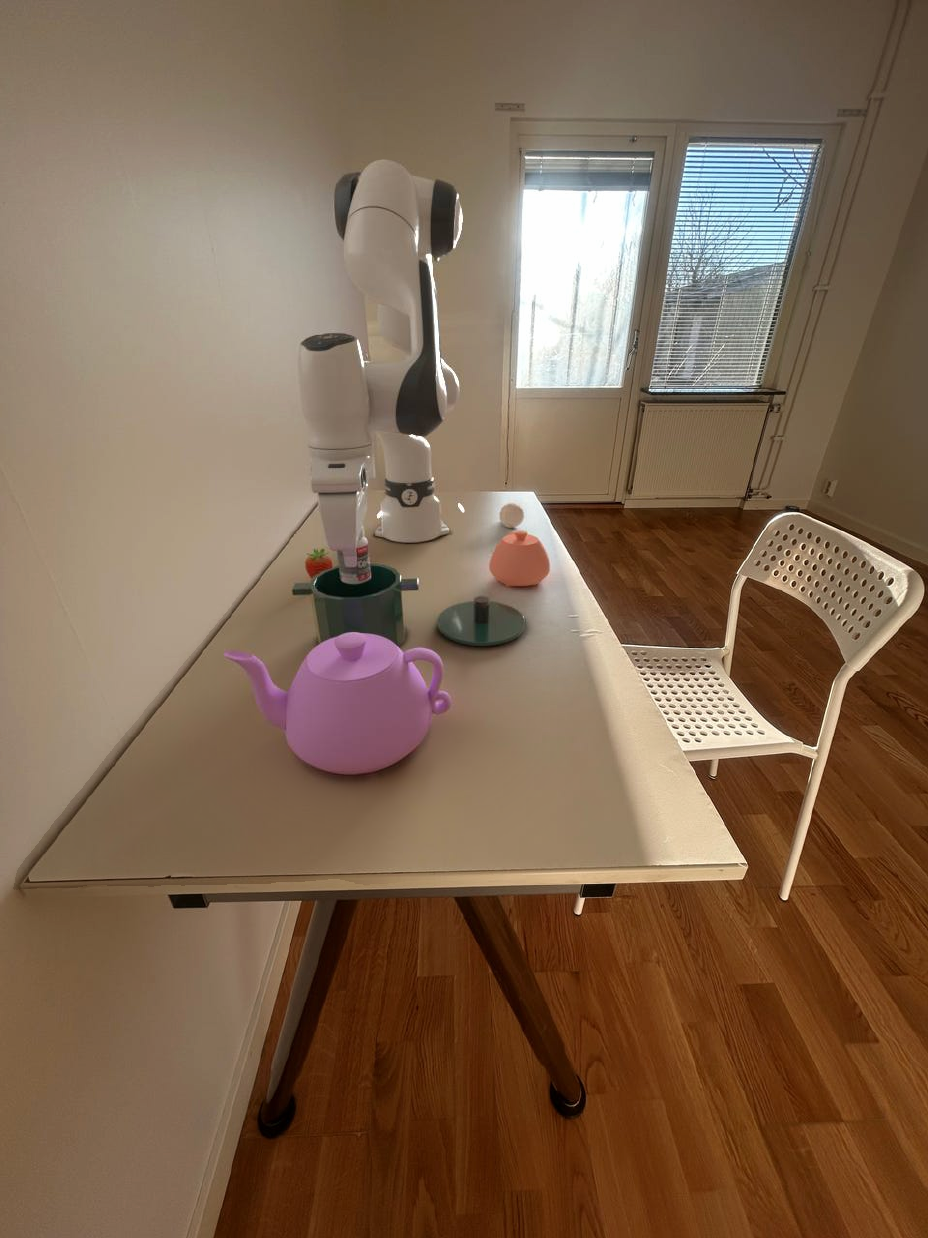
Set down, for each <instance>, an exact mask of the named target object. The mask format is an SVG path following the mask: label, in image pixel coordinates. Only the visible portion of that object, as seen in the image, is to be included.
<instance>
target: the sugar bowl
mask: <svg viewBox="0 0 928 1238" xmlns="http://www.w3.org/2000/svg"><path fill="white" fill-rule="evenodd" d="M488 566H489V567H488V569H489V571H490V573H491V575H492V576H493V578H495V580H497V581H498V582H500V583H502V584H504V585H505V587H509V588H512V587H527V586H537V585H538V584H539V583H541V582H542V581H543V580H544V579H545V578H547V576H548V575H549V574H550V571H551V563H550V558H549V554H548V553H547V550H546V549H545V547H544V545H543V543H542V541H541V540H540V539H539V537H537V536H535V535H533V534H528V531H527V530H522V529H519V530H515V531H514V530H513V531H510V532H509V533H508V534H507V535H505V536H503V537H502V538H501V539H500V541H499V542H498V544H497V545H496V547H495V548H494V549H493V552H492V553H491V556H490V560H489V565H488Z"/></svg>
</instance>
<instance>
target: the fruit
mask: <svg viewBox="0 0 928 1238" xmlns="http://www.w3.org/2000/svg"><path fill="white" fill-rule="evenodd" d="M328 554H329V552H327V553H325V548H322V549H320V551H319V550H318V548H316V549H315V548H313V553H307V552H306V555H307V556H308V557H307V558H306V559H305V561H304V562H305V563H304V564H305V565H304V566H305V570H306V573H307V574H308V576H309V578H310V579H312V578H313V577H314V576H316V575H317V574H319V573H320V572H322V571H325V570H327V569H330V568H333V567H334V565H333V561H332V559H331V558H330V557H329V556H328Z"/></svg>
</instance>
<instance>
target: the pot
mask: <svg viewBox="0 0 928 1238" xmlns="http://www.w3.org/2000/svg"><path fill="white" fill-rule="evenodd" d="M370 569H371V578H370V579H369V580H368V581H366V582H364V583H361V584H347V583H344V582H342V581H341V578H340V571H339V565H336V566H333V568H330V569H327V570H325V571H322V572H320V573H319V574H317V575H316V576H314V577H313V578H312V579H311V578H310V579H311V580H310V582H297V583H296V582H295V583H294V585H293V586H292V589H291V592H292V596H307V595H308V596H309V595H310V600H311V607H312V614H313V619H314V626H315V633H316V637H317V643H318V645H319V644H321V643H322V642H324V641H326V640H329V639H331V638H334V637H337V636H340V635H342V634H345V633H350V632H357V633H366V634H374V635H379V636H382V637H384V638H386V639H388V640H390V641H392V642H393V643H394V644H395V645H396V646H398V647H399V648H400V646H401V645H402V643H403V642H404V640H405V636H406V631H405V630H406V627H405V614H404V613H405V612H404V598H403V592H407V591H419V578H402V574H401V573H400V572H399V571H398V570H397V569H396V568H394V567H391V566H388V565H386V564H382V563H381V564H380V563H372V562H370Z"/></svg>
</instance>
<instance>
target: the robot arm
mask: <svg viewBox="0 0 928 1238" xmlns="http://www.w3.org/2000/svg"><path fill="white" fill-rule="evenodd" d="M332 214H333V219H334V222H335V227H336V232H337V234H338V236H339V237H340V238H341V240H342V241H343V261H344V266H345V269H346V272H347V274H348V277H349V278H350V280H351V281H352V283H353V284H354V286H355V287H356V288H357V289H358V291H359V292H361V293H362V294H363V295H364V296H365V297H366V298H368V299H370V300H371V301H372V302H374V303H376V304H377V328H378V331H379V334H380V336H381V338H382V339H383V340H384V341H385V342H386V343H388V345H390V346H392V347H394V348H395V349H397V350H399V351H401V352H403V353H404V358H405V359H403V360H398V361H397V360H396V361H368V360H364V358H363V352H362V349H361V345H360V342H359V339H358V338H357V337H356V336H355V335H351V334H348V333H343V332H330V333H323V334H315V335H311V336H308V337H306V338H305V339H304V340H303V341H301V342H300V344H299V346H298V360H297V362H298V363H297V364H298V365H297V367H298V368H297V369H298V385H299V396H300V402H301V410H302V414H303V416H304V419H305V420H306V424H307V439H306V444H307V450H308V451H307V452H308V456H309V457H308V458H309V466H310V475H309V482H310V483H309V484H310V489H311V492H312V493H313V494H317V505H318V512H319V516H320V521H321V524H322V529H323V534H324V538H325V541H326V544H327V547H328V548H329V550H330V551H333V552H334V551H335V552H337V551H342V553H343V556H344V562H345V566H346V567H356V566H357V563H358V557H357V552H356V546H357V542H358V539H359V535H360V532H361V528H362V525H363V524H364V521H365V517H366V513H367V511H368V497H367V490H368V489H369V482H370V481H371V480H373V479H375V478H376V476H377V474H376V473H377V472H376V464H375V450H374V441H373V437H372V434H371V433H374V434H376V436H377V438H378V439H379V442H380V445H381V448H382V453H383V459H384V460H383V461H384V467H385V478H384V491H385V492H384V493H385V494H386V495H385V498H384V499H383V500H382V501H381V502H380V511H379V512H378V514H376V516H377V519H379V518H380V520H381V521H380V522H381V523H380V525H378V527H377V528H376V530H375V531H374V535H375V536H376V537H381V538H385V539H387V540H389V541H392V542H396V543H405V544H406V543H409V544H410V543H423V542H428V541H431V540H435V539H436V538H438V537H440V536H444V535H447V534H449V533H450V528H448V526H447V525H446V524H445V523H444V521H443V520H442V507H441V505H442V504H441V501H440V500H439V499H438V498H437V497H436V495H435V478H434V477H433V471H432V449H431V445H430V443H429V442H428V441H427V440H426V439H425V437H428V436H429V435H430V434H432V433H433V432H434V431H436V430H437V429H438V427H439V426H441V425H442V423H443V422H444V421H445V418H446V413H449V412H452V411H453V410H454V408H455V407H456V406H457V404H458V401H459V397H460V393H461V392H460V390H461V389H460V383H459V379H458V377H457V375H456V373H455V372H454V371H453V369H452V368H451V367H449V365H447V364H446V362H445V361H444V360H443V359H442V348H441V347H442V345H441V331H440V318H439V306H438V297H437V289H436V283H435V280H434V276H433V262H432V258H433V260H434V262H435V263H437V262H438V261H440V258H443V257H446V256H449V254H450V253H451V252H452V251H453V250H454V249H455V248H456V245H457V242H458V240H459V239H460V235H461V231H462V225H463V224H462V223H463V211H462V205H461V202H460V198H459V193H458V191H457V189H456V188H455V185H453V184H451V183H449V182H447V181H444V180H442V179H437V178H435V180H433V179H429V178H425V177H423V176H418V175H414V174H413V175H412V174H411V173H410V172H409V171H408V170H407V168H405V167H404V166H403V165H401V164H400V163H398V162H396V161H393V160H390V159H378V160H377V159H376V160H374V161H372V162H371V163H369V164H368V165H367V166H366V167H364V169H363V170H362V172H360V171H353V172H349V173H346V174H343V175H342V176H341V178H340V179H339V180H338V181H337V182H336V184H335V188H334V193H333V200H332ZM458 508H459V509H460V511H461V512H462V513H465V509H464V507H463V505H462V504H461V503H458ZM363 526H364V525H363Z"/></svg>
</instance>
